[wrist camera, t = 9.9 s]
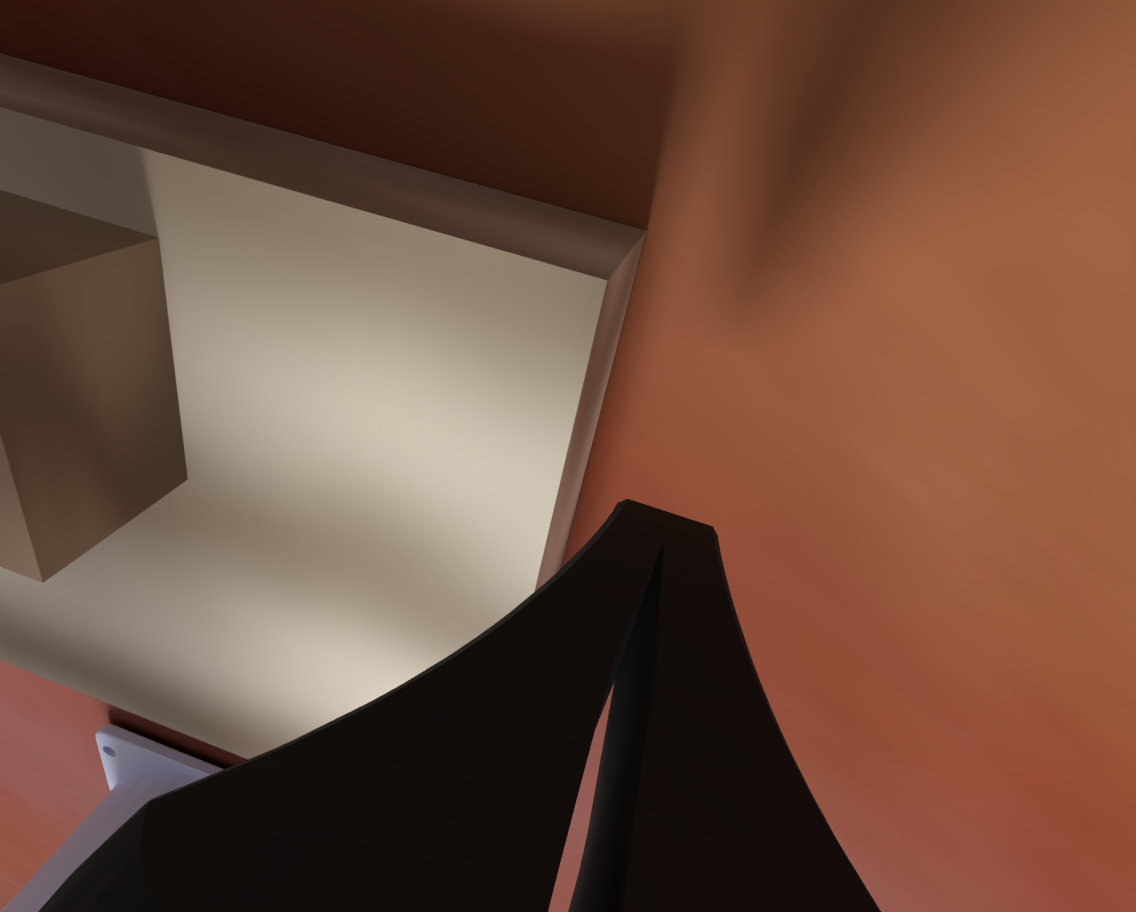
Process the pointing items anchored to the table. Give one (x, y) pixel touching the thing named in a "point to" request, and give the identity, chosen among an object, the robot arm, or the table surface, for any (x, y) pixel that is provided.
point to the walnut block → (80, 384)
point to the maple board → (316, 412)
